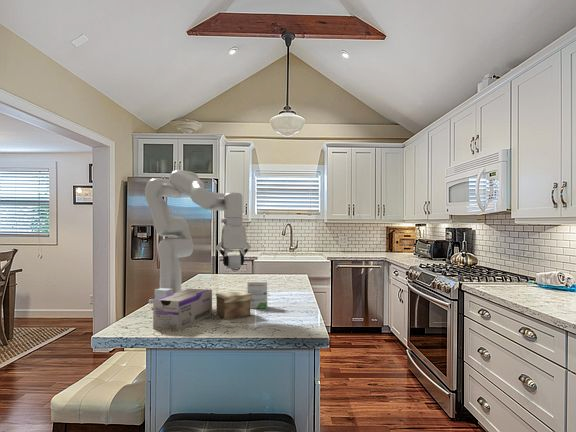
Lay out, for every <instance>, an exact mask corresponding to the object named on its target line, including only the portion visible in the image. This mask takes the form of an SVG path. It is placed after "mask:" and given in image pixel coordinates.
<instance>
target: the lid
mask: <svg viewBox="0 0 576 432" xmlns="http://www.w3.org/2000/svg"><path fill="white" fill-rule="evenodd" d="M215 296H216V297H217V296H219V297H221V298H224V303H230V302H239V301H248V300H252V294H250V293H248V292H245V291H243V290H239V291H227V292H219V293H217V292H216V293H215Z"/></svg>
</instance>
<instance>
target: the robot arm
mask: <svg viewBox="0 0 576 432" xmlns="http://www.w3.org/2000/svg"><path fill="white" fill-rule="evenodd" d="M168 177H169V179H167V178H160V177H159V178H157V177H156V178H151V179H150V180H149V181H147V183H146V186H145V188H144V197H145V201H146V203H147V205H148V208H149V210H150V213H151V218H152V221H153V225H154V228H155V231H156V233H157V235H158V236H159V237H166V238H164V239H162V240H160V241H159V242H158V244H157V253H158V258H159V289H160V288H166V289H173V294H174V293H177V292H180V291H182V265H181V262H180V260H179V259H180V258H186V257H190V256H191V255H192V254H193V251H194V242H193V237H192V235H191V232H190V229H189V225H188V222H187V221H186V219H185V218H183V217H181V216H174V215H172V213H171V210H170V206H169V205H168V203H167V201H165V199H164V198H171V199H172V198H176V199H177V198H180V197H182V196H184V195H188V196H189V198H190V199H191V201H192V202H193V203H194V204H195V205H197V206H199V207H200V208H203V209H205V210H207V211H219V212H223V211H224V217H223V219H222V218H221V223H223V225H222V230H221V235H220V237H221V238H220V242H219V243H218V244H217V245H216V246H215V250H216V251H217V252H218V253H220V255H221V256H222V264H223V266H224V267H226V266H228V256H227V255H228V254H229V251H231V250H238V253H239V255H241V266H243V265H244V263H245V255H246V254H247V253H248V252H249V250H250V249H251V248H252V245H251V244H250V243H249V242H248V241H247V231H246V225H244V223H243V222H244V219H243V217H244V216H243V212H244V211H243V209H244V208H243V207H244V205H243V198H244V197H243V194H242V193H241V192H227V193H221V192H213V191H209V190H207V189H205V183H204V181H202V180H201V179H200V177H199V175H198V174H197V173H196V172H194V171H189V170H183V169H176V170H173V171H172V172H171V173H170V174H169V176H168ZM163 197H164V198H163ZM153 300H154V298H152V299H148V304H151V305H153Z"/></svg>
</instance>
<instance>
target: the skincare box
mask: <svg viewBox="0 0 576 432" xmlns="http://www.w3.org/2000/svg"><path fill="white" fill-rule="evenodd" d="M170 294H173V289H166V288H160V287H159V288H154V296H153V297H154V298H153V299H157V298H161V297H164V296H167V295H170Z"/></svg>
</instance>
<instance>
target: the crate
mask: <svg viewBox="0 0 576 432" xmlns="http://www.w3.org/2000/svg"><path fill="white" fill-rule="evenodd" d="M216 315H217V316H219V317H220V318H222V319H224V320H225V321H226V320H231V319H238V318H239V319H240V318H246V317H251V308H250V300H248V301H239V302H230V303H224V298H221V297H219V296H216Z"/></svg>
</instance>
